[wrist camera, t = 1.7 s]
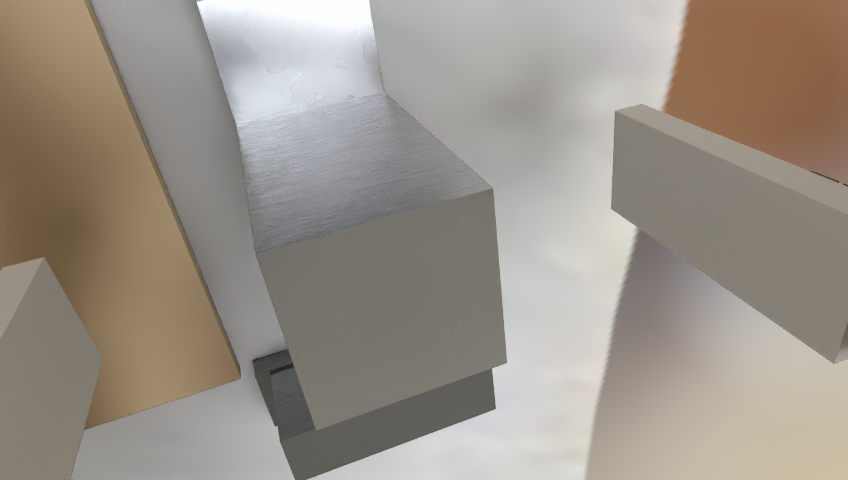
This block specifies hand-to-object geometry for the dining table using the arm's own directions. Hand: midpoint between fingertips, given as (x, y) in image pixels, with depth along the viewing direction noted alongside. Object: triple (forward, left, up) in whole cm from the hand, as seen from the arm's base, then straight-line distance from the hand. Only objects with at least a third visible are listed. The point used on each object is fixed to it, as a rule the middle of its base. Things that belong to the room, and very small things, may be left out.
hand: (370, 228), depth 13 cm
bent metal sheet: (0, 0, -6) cm, 6 cm away
